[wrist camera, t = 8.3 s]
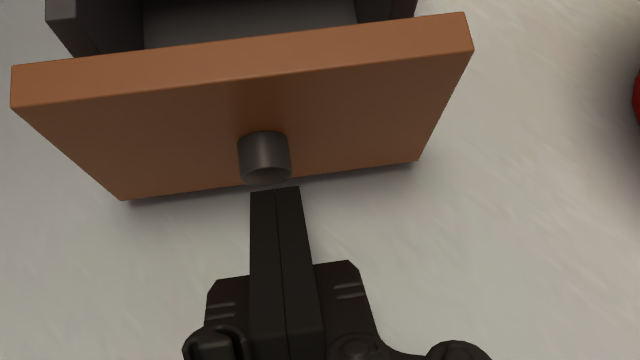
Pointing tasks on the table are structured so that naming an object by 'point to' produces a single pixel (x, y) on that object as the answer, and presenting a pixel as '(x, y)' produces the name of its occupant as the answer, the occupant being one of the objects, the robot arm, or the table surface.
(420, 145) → the drawer
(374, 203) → the table surface
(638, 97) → the plastic cup
